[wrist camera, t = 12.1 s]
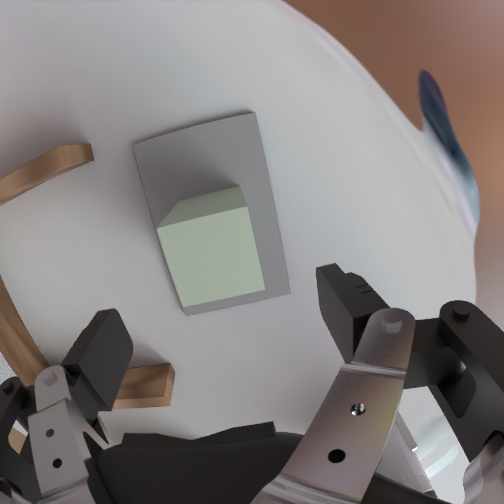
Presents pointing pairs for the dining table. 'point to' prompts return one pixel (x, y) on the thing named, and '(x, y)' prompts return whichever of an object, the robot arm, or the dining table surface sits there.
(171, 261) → the sage block
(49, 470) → the robot arm
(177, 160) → the grey mat
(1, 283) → the walnut u-shaped frame
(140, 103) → the dining table surface
